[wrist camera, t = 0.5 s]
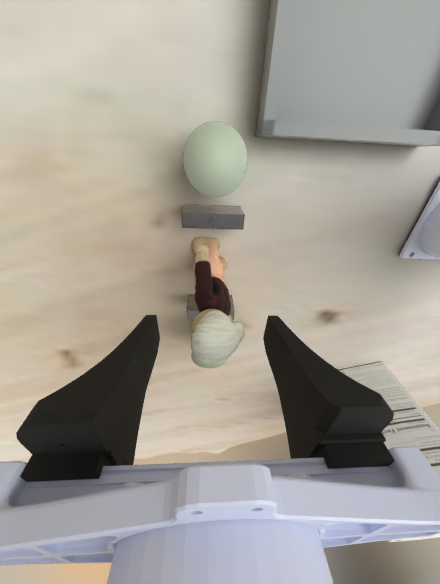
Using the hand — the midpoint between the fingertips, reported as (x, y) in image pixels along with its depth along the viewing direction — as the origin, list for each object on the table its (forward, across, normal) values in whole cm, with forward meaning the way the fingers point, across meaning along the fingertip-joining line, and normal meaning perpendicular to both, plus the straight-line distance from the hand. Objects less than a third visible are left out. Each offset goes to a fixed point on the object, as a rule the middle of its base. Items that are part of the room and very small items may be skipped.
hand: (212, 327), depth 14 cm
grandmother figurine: (+10, 0, 0) cm, 10 cm away
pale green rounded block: (+10, 0, -9) cm, 14 cm away
